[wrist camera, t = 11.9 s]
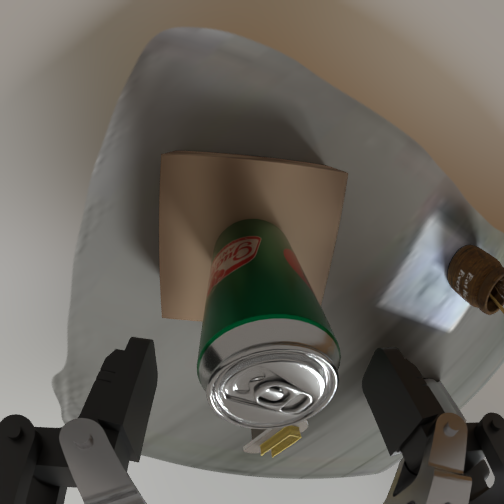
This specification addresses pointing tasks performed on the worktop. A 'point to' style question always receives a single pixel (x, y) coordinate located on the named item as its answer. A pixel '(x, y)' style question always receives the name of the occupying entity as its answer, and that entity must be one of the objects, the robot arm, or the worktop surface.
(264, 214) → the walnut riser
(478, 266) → the utensil holder
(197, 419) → the worktop surface
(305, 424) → the grey flat gold-topped slab
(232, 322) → the soda can
